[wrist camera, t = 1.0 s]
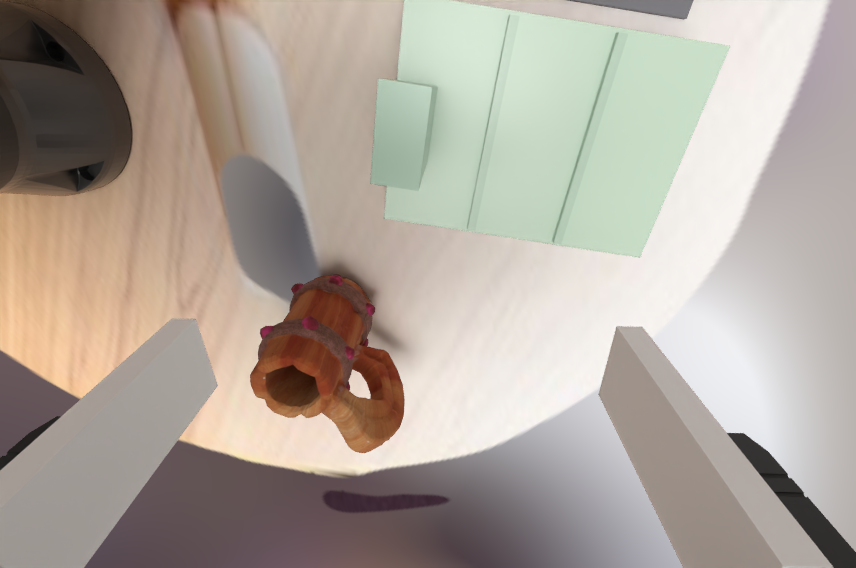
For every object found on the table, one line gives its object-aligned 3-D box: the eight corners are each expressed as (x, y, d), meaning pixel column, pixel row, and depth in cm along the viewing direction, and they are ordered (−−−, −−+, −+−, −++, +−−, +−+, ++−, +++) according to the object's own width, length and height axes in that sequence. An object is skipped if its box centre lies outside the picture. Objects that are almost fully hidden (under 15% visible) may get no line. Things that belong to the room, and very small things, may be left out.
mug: (282, 296, 43) (205, 393, 29) (326, 246, 40) (263, 329, 26) (384, 372, 47) (357, 488, 33) (431, 332, 44) (422, 441, 30)
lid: (385, 215, 32) (361, 264, 23) (406, -5, 25) (382, -51, 16) (635, 253, 32) (703, 316, 23) (722, 46, 25) (861, 28, 17)
